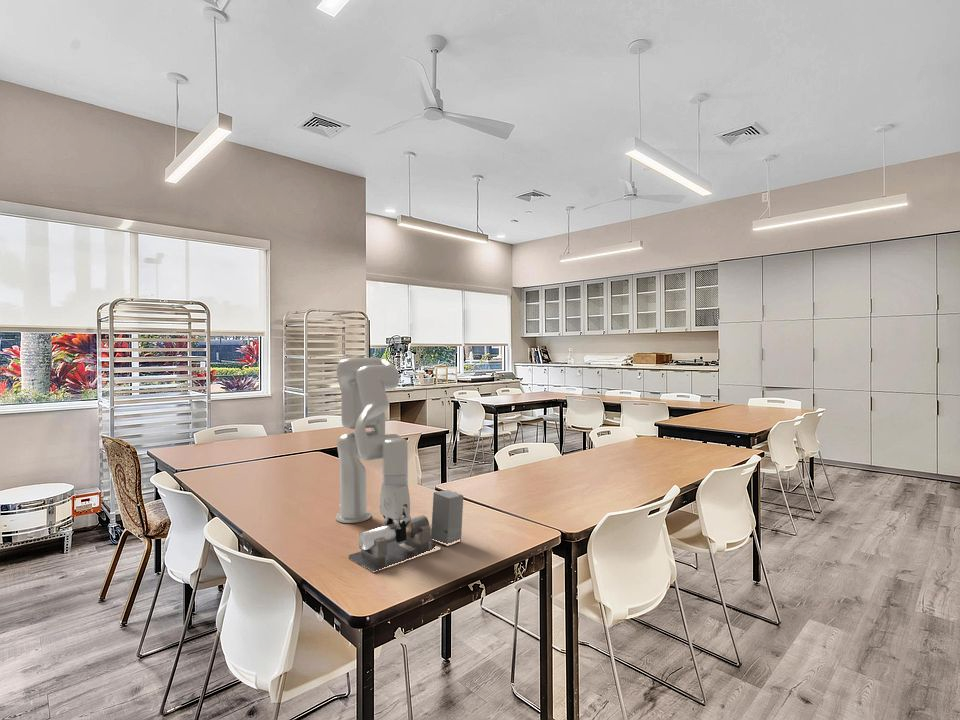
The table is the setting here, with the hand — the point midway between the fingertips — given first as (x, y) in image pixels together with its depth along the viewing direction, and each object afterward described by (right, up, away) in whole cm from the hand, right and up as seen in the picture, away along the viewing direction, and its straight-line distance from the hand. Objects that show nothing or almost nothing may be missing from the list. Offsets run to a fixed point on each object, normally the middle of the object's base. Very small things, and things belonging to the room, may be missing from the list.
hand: (395, 538), depth 155 cm
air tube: (0, +2, 0) cm, 2 cm away
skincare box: (+15, -5, +10) cm, 19 cm away
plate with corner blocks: (0, -5, 0) cm, 5 cm away
